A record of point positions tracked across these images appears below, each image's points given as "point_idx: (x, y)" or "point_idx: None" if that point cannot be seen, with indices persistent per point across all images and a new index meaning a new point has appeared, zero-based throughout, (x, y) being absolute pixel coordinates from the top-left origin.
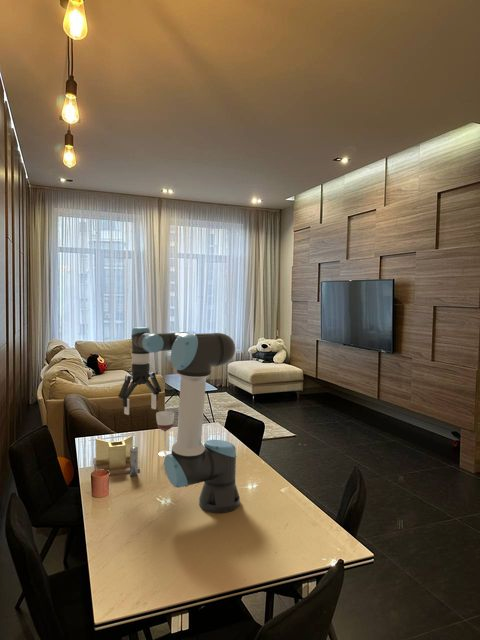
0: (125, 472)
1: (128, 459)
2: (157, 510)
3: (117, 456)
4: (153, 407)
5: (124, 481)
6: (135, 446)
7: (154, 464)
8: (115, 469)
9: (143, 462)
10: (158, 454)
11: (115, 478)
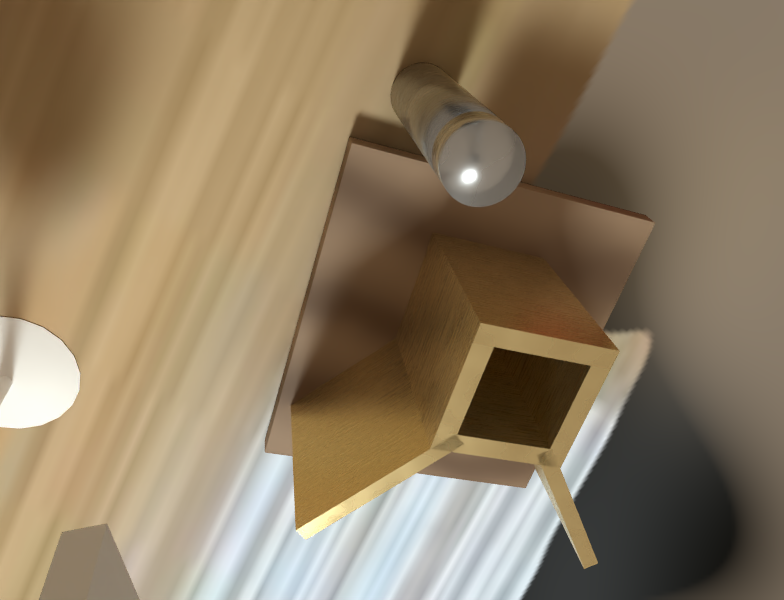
0: None
1: (344, 364)
2: None
3: (520, 289)
4: (117, 594)
5: (539, 16)
6: (450, 191)
7: (178, 210)
8: (511, 235)
9: (244, 293)
10: (69, 380)
11: (561, 117)
